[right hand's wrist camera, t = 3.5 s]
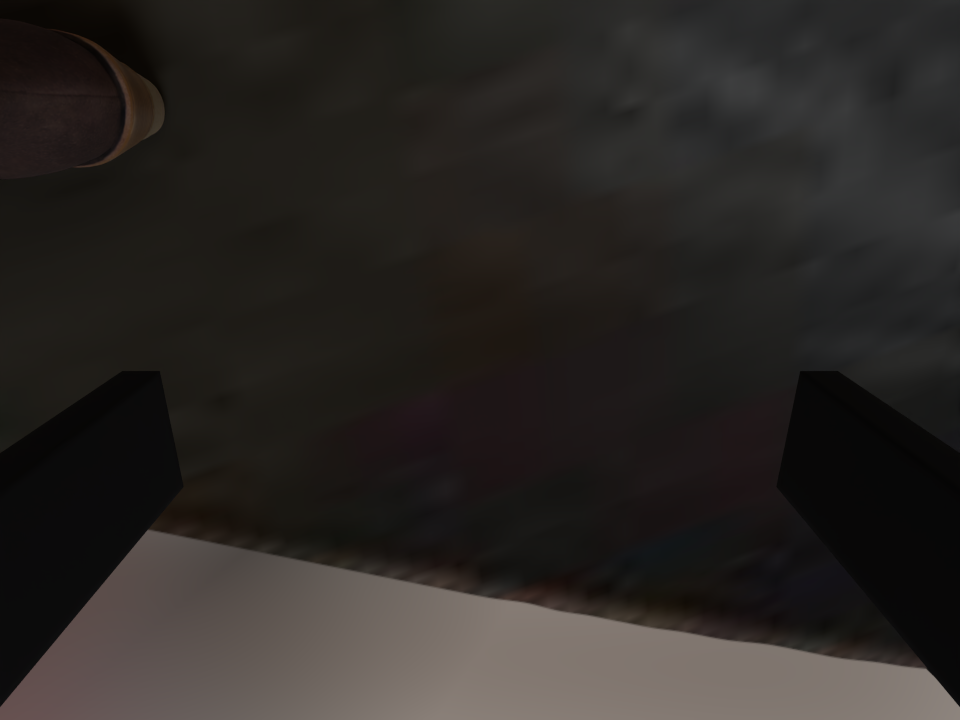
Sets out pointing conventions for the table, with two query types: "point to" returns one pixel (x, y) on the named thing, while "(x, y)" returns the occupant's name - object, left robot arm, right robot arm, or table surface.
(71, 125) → the boot
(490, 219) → the table surface
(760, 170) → the table surface
